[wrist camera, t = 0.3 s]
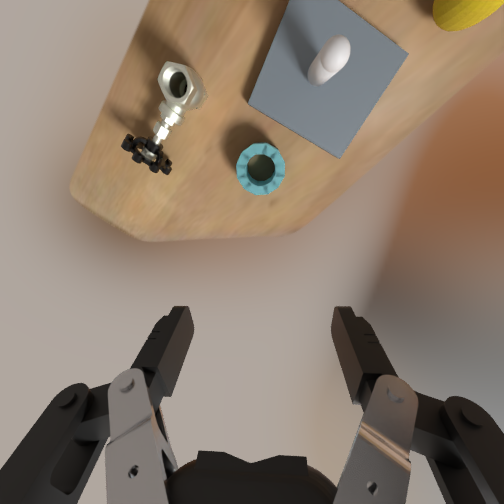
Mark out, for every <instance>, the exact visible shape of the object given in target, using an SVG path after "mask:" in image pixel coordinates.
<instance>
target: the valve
mask: <svg viewBox="0 0 504 504" xmlns="http://www.w3.org/2000/svg"><path fill="white" fill-rule="evenodd" d="M157 80H158V83H159V85H160V88H161V90H162V92H163V94H164V96H165V98H166V101H165V100H162V102H161V104H160V106H159V110H160V111H161V112H162V114H161V115H160V116H161V118H162V121H157V123H156V125H155V127H154V128H153V131H154V133H155V136H154V137H153V138H152V137H148V139H146V138H144V137H136V138H135V139H134V137H133V136H132V135H130V134H127V135H126V137H125V139H124V141H123V143H122V145H121V147H122V148H123V149H124V150H126V151H128V152H132V153H133V156H132V159H133V160H134V161H135V162H137V163H141V162H143V163H145V164H147V165H148V166H149V169H150V170H151V171H152V172H154V173H158V171H159V169H160V170H161V171H162V172H163V173H164V174H166V175H169V173H170V172H171V170H172V168H171V167H170V166H171V165H172V162H171V161H170V160H169V159H167V160H166V161H164V159H163V155H162V154H163V152H162V151H161V150H162V149H163V145H162V144H161V142H162V140H163V139H164V140H167V139H168V137H169V135H170V134H171V132H172V131H171V129H170V127H171V126H173V127H174V126H175V125H176V124H177V125H180V126H181V125H182V123H183V121H184V120H185V117H184V116H183V115H184V114H185V112H186V111H187V110H193V109H199V110H200V109H201V108H202V106H203V104H204V103H205V101H206V99H207V98H208V94H207V91H206V89H205V86H204V83H203V80H202V79H201V78H200V76H199V75H198V74H197V72H196V71H195V70H193V69H192V68H190V67H188V66H185V65H182V64H178V63H174V62H169V61H166V63H165V64H164V66H163V68H162V70H161V72H160V74H159V76H158V79H157ZM186 84H187V91H186V94H184V88H185V85H186ZM133 139H134V140H133ZM137 148H139V149H142V152H141V153H140V152H139V150H138V149H137ZM155 159H156V161H155V162H154V160H155Z"/></svg>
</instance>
